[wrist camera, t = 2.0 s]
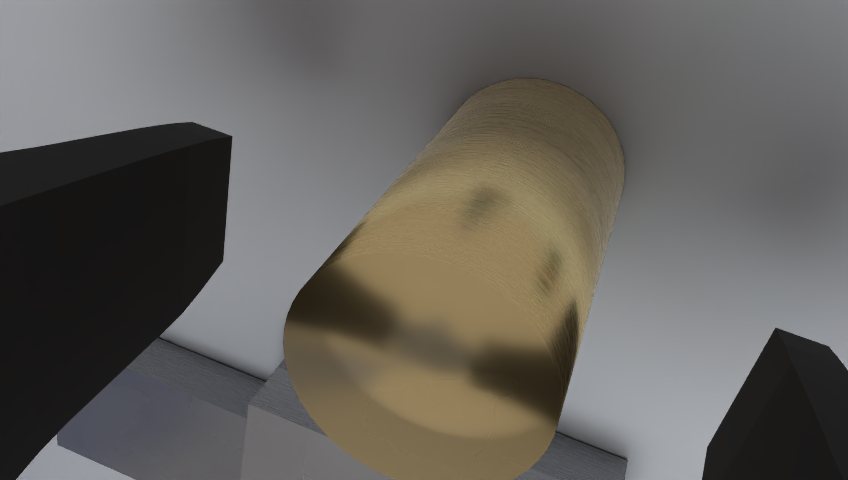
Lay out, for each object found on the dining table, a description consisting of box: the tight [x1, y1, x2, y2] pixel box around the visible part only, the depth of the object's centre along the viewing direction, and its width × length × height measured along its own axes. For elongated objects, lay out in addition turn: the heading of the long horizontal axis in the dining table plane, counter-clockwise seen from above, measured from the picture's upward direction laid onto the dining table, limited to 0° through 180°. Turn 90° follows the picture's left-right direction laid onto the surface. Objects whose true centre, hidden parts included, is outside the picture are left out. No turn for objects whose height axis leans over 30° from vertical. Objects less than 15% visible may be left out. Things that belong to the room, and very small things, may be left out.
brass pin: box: [283, 78, 625, 480], centre depth 11 cm, size 3×3×6 cm
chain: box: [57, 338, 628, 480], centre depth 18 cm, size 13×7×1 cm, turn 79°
